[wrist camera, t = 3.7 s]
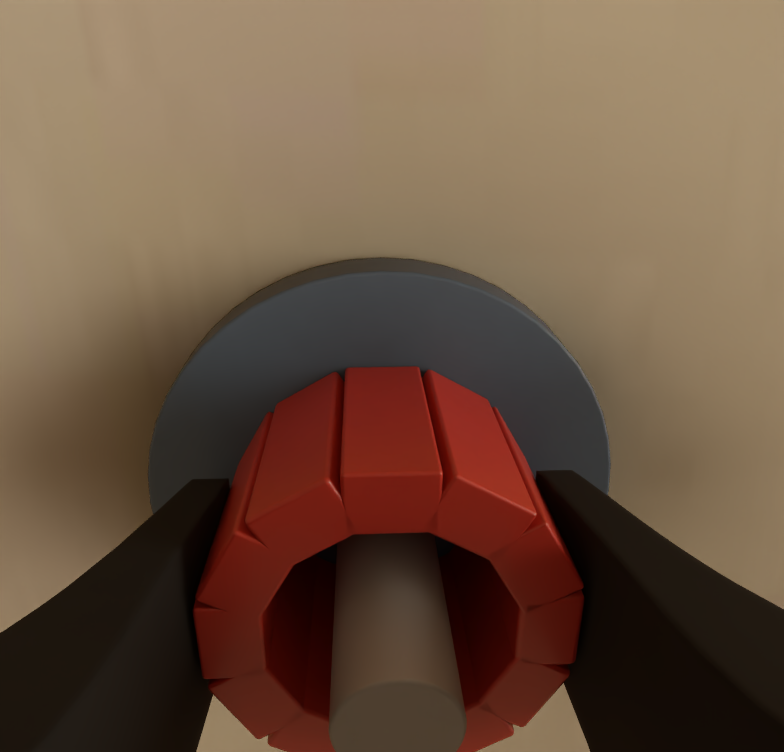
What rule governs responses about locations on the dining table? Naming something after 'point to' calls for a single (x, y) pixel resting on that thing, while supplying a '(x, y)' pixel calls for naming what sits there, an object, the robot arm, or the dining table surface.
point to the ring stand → (381, 551)
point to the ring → (384, 516)
